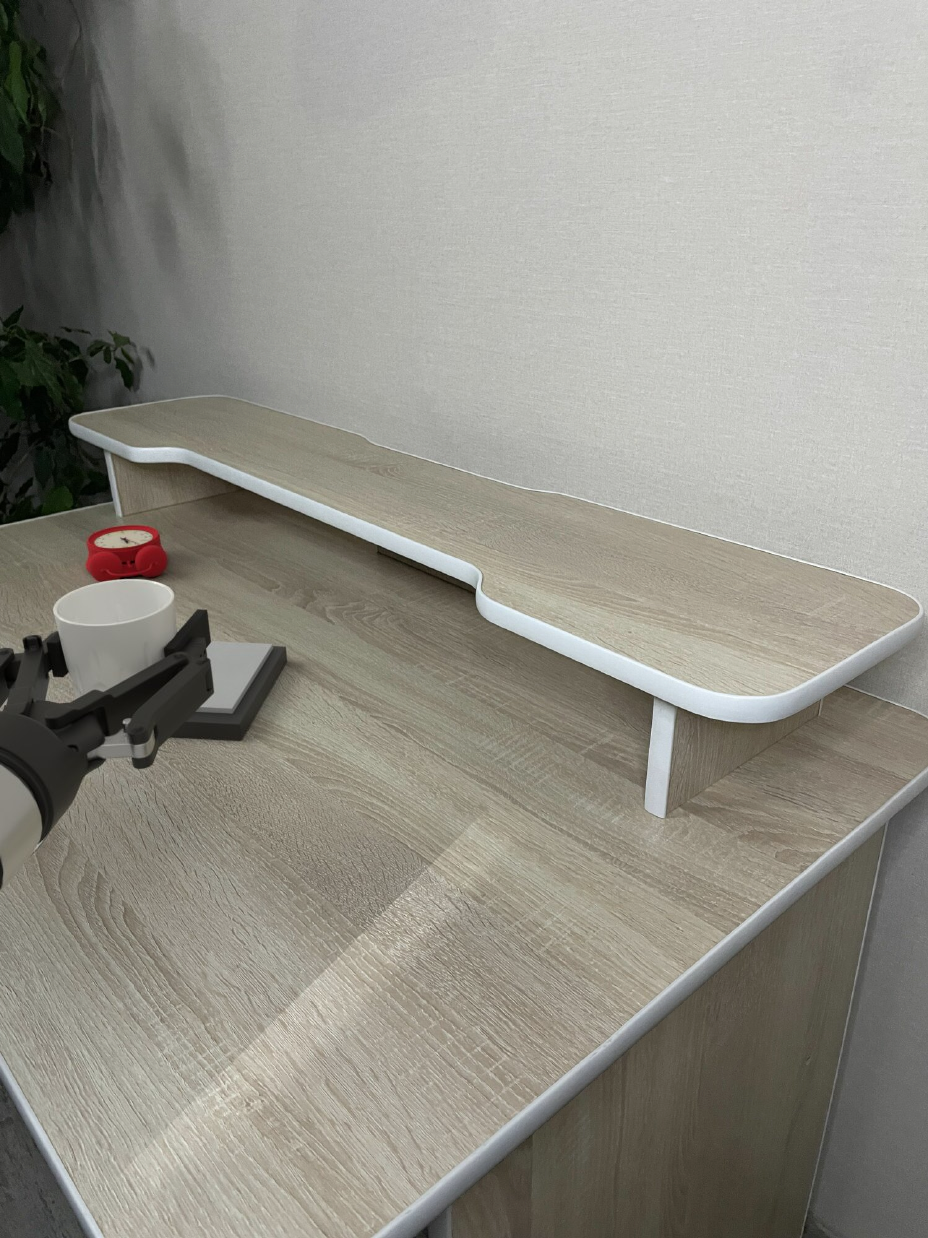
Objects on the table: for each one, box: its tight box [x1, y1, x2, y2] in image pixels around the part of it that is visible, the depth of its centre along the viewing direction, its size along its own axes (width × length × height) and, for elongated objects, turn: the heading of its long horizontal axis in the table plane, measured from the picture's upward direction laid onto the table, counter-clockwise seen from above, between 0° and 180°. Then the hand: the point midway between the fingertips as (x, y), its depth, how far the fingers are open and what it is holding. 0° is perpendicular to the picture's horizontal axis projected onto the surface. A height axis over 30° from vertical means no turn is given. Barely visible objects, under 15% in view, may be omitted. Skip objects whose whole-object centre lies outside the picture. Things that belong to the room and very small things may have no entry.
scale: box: [169, 640, 288, 742], centre depth 93 cm, size 16×16×2 cm
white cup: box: [52, 578, 178, 699], centre depth 66 cm, size 8×8×10 cm
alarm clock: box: [85, 524, 169, 583], centre depth 124 cm, size 10×6×15 cm
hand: (150, 623), depth 70 cm, fingers closed on white cup, 8 cm apart
